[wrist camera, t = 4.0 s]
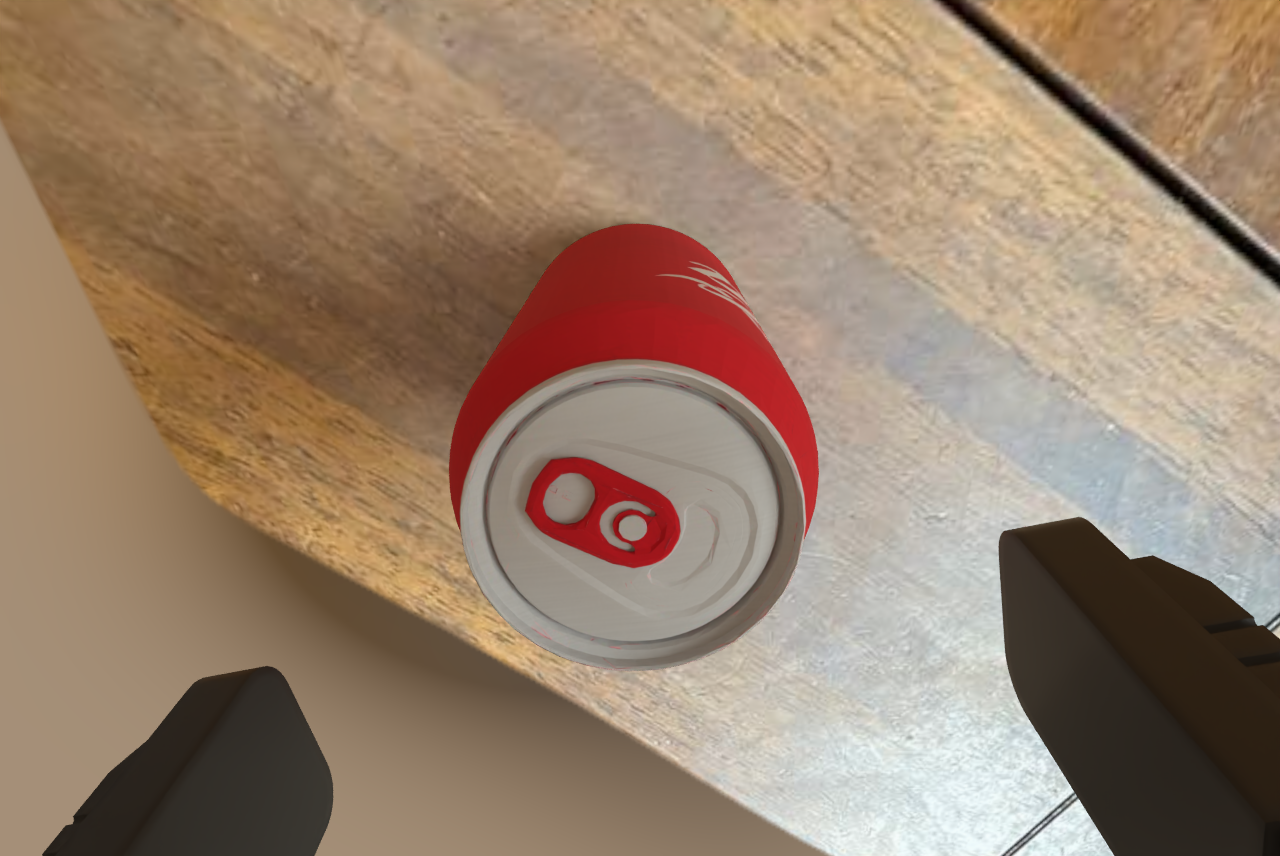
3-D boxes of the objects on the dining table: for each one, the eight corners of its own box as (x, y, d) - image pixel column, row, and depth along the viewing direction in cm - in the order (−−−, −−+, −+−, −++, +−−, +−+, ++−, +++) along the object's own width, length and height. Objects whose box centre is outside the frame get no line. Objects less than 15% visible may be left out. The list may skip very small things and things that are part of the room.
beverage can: (680, 460, 24) (712, 752, 13) (497, 373, 23) (362, 610, 12) (784, 281, 22) (926, 449, 11) (587, 178, 21) (526, 246, 10)
